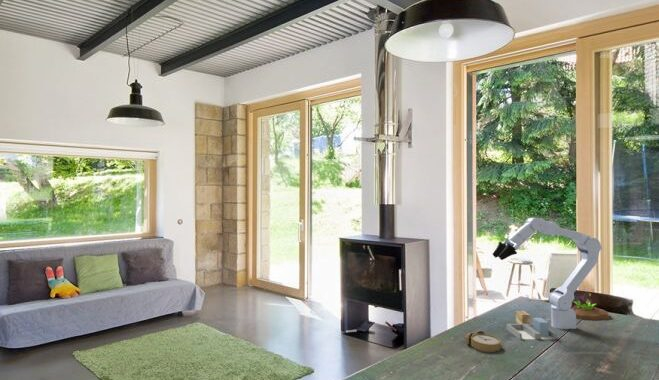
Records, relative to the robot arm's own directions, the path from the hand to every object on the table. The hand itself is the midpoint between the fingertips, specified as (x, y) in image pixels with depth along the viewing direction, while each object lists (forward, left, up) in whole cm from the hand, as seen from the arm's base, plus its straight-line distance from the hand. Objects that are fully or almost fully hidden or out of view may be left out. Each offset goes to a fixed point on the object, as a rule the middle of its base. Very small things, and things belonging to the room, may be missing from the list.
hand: (496, 257), depth 195 cm
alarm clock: (+14, +22, -33) cm, 42 cm away
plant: (-51, -23, -33) cm, 65 cm away
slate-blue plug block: (-14, +11, -31) cm, 36 cm away
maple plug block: (-13, -4, -32) cm, 35 cm away
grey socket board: (-10, +10, -32) cm, 35 cm away
